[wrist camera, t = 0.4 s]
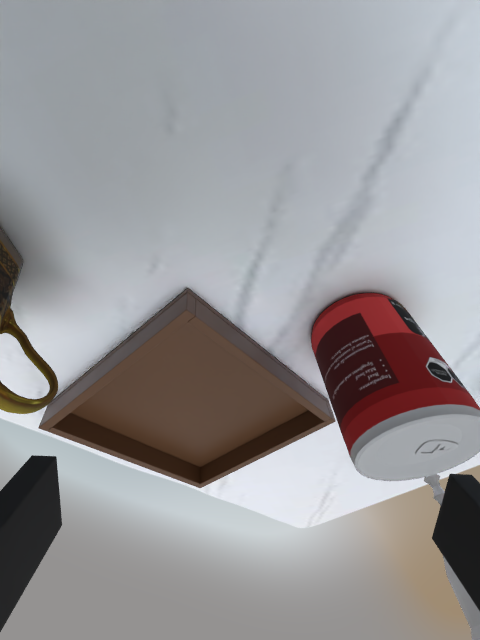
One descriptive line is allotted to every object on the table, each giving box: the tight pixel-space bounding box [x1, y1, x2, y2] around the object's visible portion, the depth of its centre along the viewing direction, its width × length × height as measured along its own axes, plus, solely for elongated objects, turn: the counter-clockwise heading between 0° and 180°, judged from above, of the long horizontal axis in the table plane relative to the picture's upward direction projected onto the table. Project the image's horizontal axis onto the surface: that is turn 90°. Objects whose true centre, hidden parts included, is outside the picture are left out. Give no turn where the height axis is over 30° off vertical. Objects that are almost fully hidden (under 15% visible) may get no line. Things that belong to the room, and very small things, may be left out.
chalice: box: [424, 474, 480, 640], centre depth 34 cm, size 7×7×18 cm
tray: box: [39, 288, 335, 488], centre depth 31 cm, size 20×19×2 cm
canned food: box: [311, 293, 480, 481], centre depth 23 cm, size 8×8×11 cm
